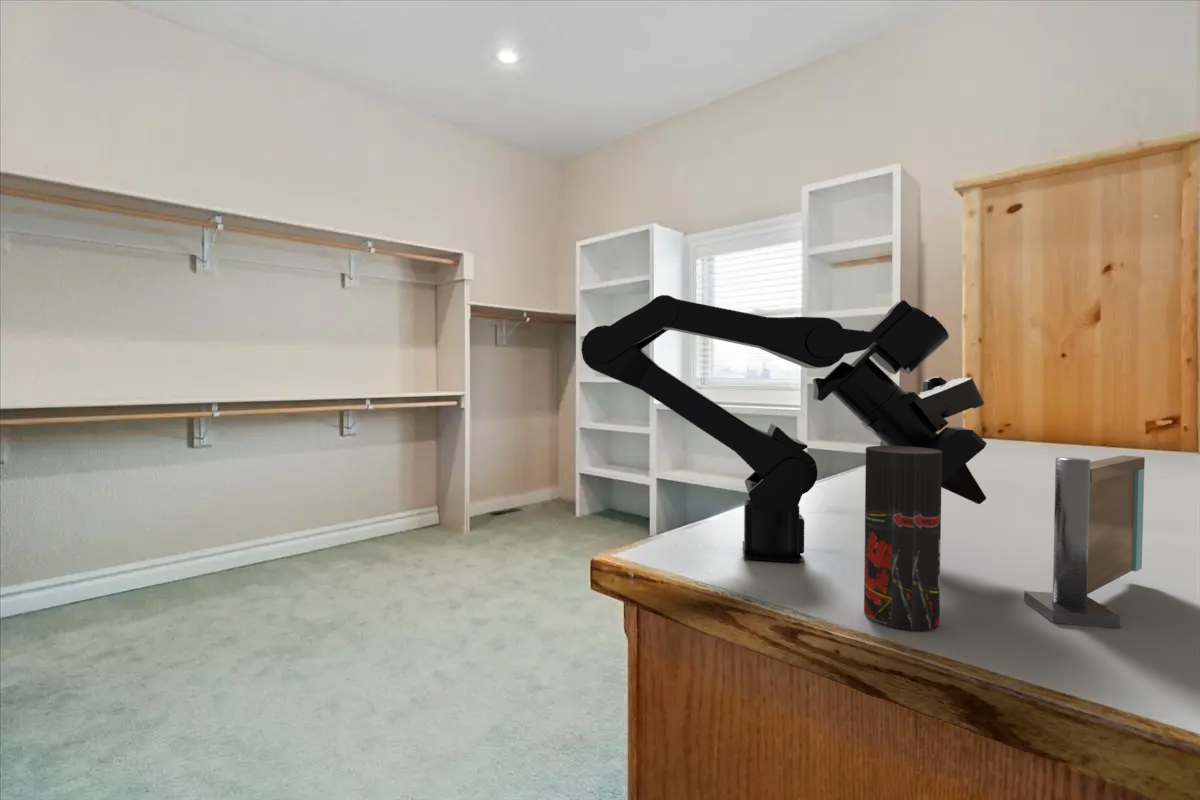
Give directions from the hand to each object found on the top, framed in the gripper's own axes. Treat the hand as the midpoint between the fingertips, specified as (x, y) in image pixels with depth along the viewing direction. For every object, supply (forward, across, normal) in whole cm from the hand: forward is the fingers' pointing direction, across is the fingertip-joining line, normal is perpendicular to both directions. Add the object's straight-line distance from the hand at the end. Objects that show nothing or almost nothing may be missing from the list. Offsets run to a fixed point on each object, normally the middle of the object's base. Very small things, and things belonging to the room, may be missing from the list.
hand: (981, 501), depth 65 cm
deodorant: (-4, -17, +14) cm, 23 cm away
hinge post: (+7, -13, +4) cm, 15 cm away
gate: (+10, -7, -2) cm, 12 cm away
